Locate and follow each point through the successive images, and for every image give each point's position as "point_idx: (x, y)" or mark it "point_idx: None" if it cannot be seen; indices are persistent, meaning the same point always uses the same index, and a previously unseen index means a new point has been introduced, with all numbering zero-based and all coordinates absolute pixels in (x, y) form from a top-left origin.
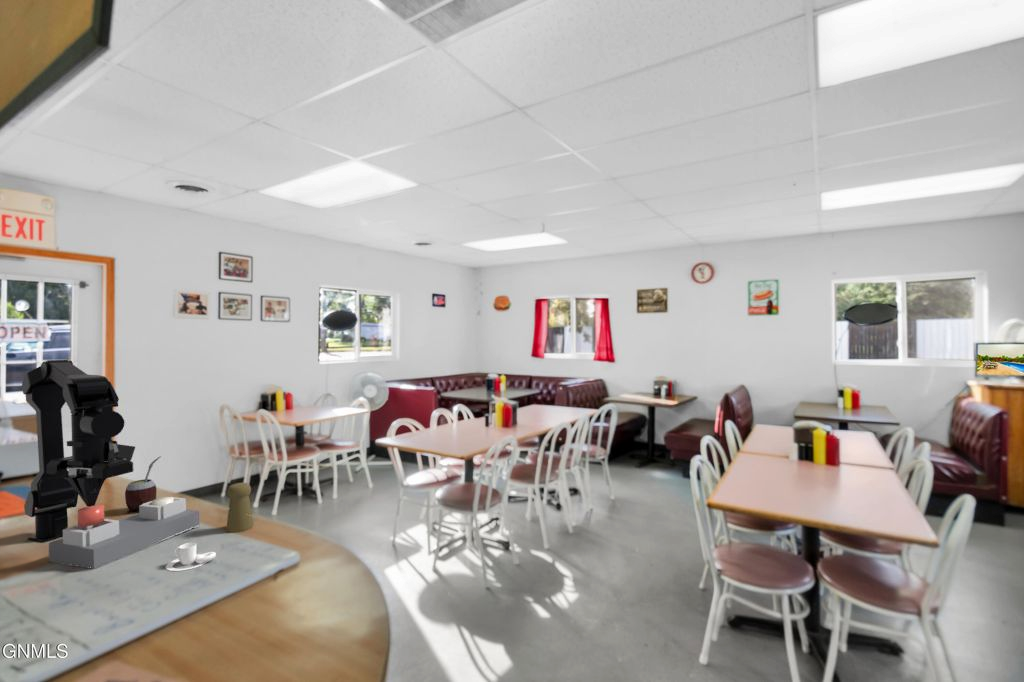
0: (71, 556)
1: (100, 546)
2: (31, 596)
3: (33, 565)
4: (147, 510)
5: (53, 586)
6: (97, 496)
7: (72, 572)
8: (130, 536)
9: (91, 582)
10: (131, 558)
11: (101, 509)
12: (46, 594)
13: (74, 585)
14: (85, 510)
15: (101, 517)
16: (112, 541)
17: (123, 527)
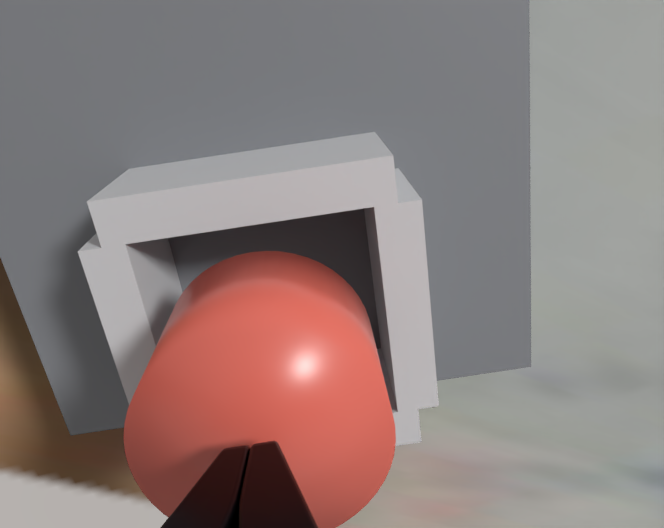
0: None
1: (519, 324)
2: (518, 525)
3: None
4: None
5: (505, 460)
6: (310, 517)
7: None
8: (529, 119)
9: (642, 378)
10: (553, 138)
11: (380, 375)
12: (561, 497)
13: (592, 421)
14: (309, 506)
15: (366, 325)
16: (503, 243)
17: (215, 15)
